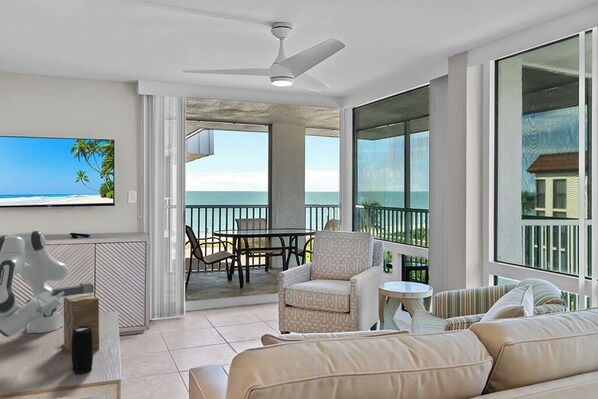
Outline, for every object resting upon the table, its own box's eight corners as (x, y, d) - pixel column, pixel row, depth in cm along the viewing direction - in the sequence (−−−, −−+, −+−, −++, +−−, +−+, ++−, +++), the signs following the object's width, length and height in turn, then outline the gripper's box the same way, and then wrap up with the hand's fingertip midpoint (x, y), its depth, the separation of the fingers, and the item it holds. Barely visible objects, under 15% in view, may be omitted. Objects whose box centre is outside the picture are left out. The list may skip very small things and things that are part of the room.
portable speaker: (83, 366, 213) (83, 323, 213) (97, 369, 209) (97, 326, 208) (66, 372, 205) (66, 328, 205) (80, 376, 201) (80, 331, 201)
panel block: (64, 347, 238) (63, 297, 237) (88, 342, 246) (87, 293, 245) (74, 355, 227) (73, 302, 226) (99, 349, 235) (98, 298, 234)
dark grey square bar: (52, 296, 225) (52, 286, 225) (90, 290, 237) (90, 281, 237) (55, 297, 222) (55, 288, 221) (93, 292, 234) (93, 283, 234)
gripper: (37, 308, 209) (65, 289, 217) (25, 300, 224) (52, 282, 232) (45, 319, 211) (72, 299, 219) (32, 310, 226) (59, 292, 234)
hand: (61, 291), depth 226 cm, fingers closed on dark grey square bar, 4 cm apart
